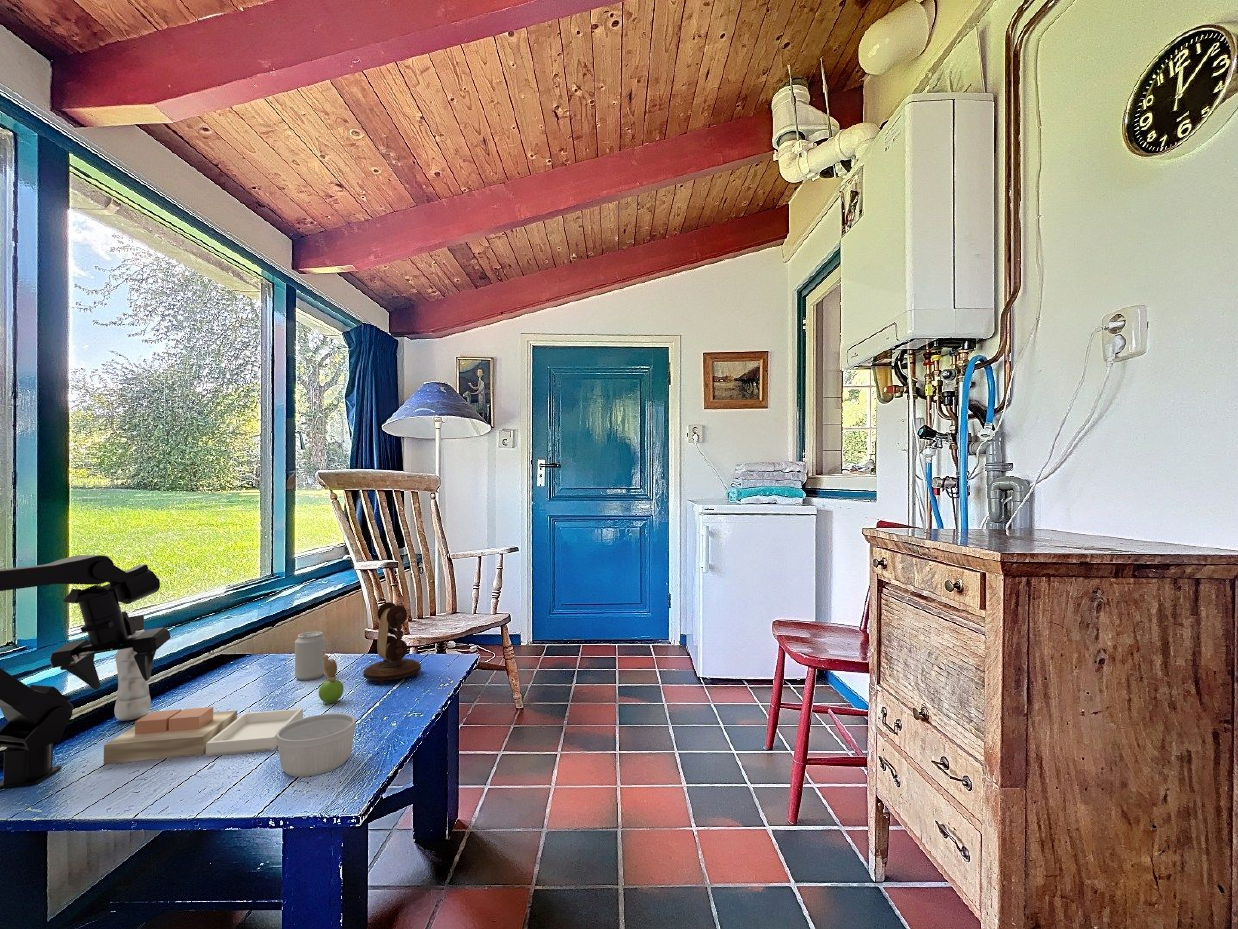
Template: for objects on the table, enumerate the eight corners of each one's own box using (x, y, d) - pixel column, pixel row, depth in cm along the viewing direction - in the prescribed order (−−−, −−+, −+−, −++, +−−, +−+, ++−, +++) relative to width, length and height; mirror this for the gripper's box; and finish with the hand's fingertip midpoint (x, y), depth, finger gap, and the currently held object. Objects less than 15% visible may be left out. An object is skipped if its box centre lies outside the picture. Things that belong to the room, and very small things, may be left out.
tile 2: (199, 729, 117) (199, 716, 117) (168, 731, 116) (168, 719, 117) (213, 719, 123) (213, 706, 123) (184, 721, 122) (184, 709, 122)
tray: (273, 750, 115) (273, 737, 115) (205, 756, 113) (206, 743, 113) (302, 719, 130) (302, 708, 131) (244, 724, 128) (244, 713, 129)
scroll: (355, 677, 161) (355, 604, 162) (408, 666, 171) (407, 597, 172) (374, 690, 150) (374, 611, 151) (429, 677, 160) (429, 603, 161)
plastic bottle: (130, 725, 130) (132, 634, 131) (105, 723, 131) (107, 633, 132) (158, 714, 136) (160, 627, 137) (135, 713, 137) (136, 627, 138)
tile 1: (165, 732, 116) (166, 719, 116) (134, 734, 115) (135, 721, 116) (181, 721, 122) (181, 709, 122) (151, 723, 121) (152, 711, 121)
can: (296, 675, 164) (296, 632, 165) (325, 671, 167) (325, 629, 168) (293, 683, 157) (293, 638, 158) (324, 678, 160) (324, 634, 161)
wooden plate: (202, 754, 113) (203, 736, 114) (103, 763, 111) (104, 744, 111) (236, 726, 127) (237, 710, 127) (149, 734, 124) (149, 717, 125)
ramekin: (258, 779, 103) (258, 739, 103) (307, 747, 116) (307, 711, 116) (327, 782, 101) (327, 741, 102) (369, 749, 114) (369, 713, 115)
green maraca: (335, 696, 146) (335, 647, 146) (347, 701, 142) (347, 651, 142) (312, 702, 142) (313, 652, 142) (324, 708, 138) (324, 656, 138)
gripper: (175, 591, 127) (192, 656, 130) (77, 606, 123) (97, 672, 127) (145, 613, 116) (165, 683, 119) (37, 630, 113) (60, 702, 116)
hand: (123, 684), depth 121 cm, fingers open, 9 cm apart
